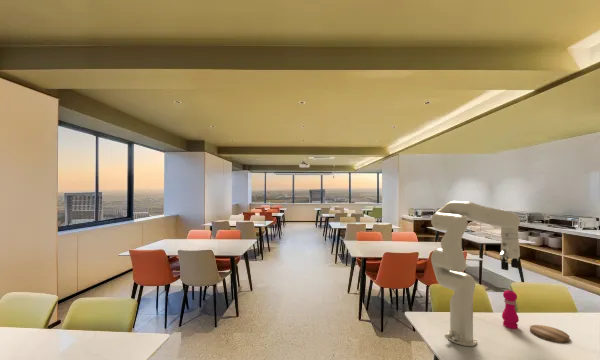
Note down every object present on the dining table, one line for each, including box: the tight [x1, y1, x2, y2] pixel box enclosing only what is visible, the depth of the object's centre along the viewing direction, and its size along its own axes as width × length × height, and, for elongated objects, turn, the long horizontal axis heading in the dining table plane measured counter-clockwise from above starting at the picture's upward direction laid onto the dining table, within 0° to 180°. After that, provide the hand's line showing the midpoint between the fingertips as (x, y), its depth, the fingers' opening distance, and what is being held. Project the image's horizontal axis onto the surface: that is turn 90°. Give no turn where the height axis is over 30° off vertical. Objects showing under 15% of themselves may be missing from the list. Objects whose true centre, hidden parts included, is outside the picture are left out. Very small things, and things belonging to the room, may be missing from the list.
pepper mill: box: [501, 287, 520, 330], centre depth 156 cm, size 7×7×20 cm
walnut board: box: [529, 324, 570, 344], centre depth 147 cm, size 15×15×2 cm
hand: (509, 268), depth 157 cm, fingers open, 9 cm apart
